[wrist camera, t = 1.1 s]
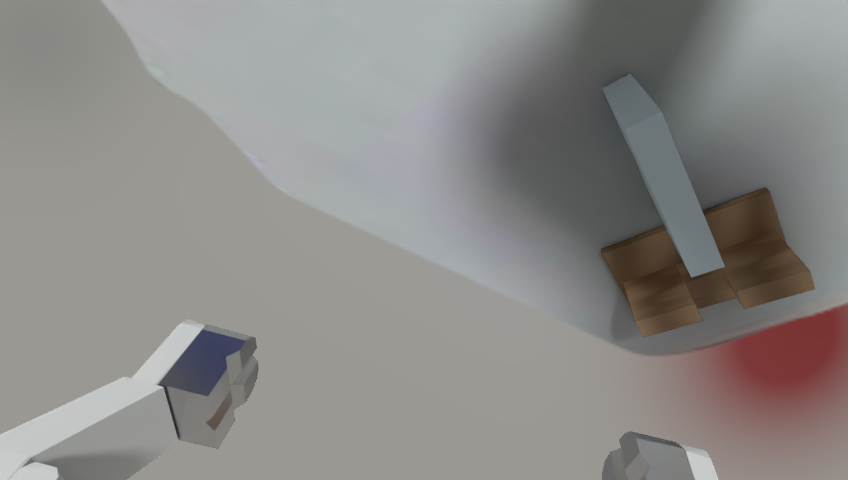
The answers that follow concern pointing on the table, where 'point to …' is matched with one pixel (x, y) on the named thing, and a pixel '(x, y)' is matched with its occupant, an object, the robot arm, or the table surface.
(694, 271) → the slotted plate
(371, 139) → the table surface
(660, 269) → the jig
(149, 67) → the table surface
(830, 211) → the table surface
